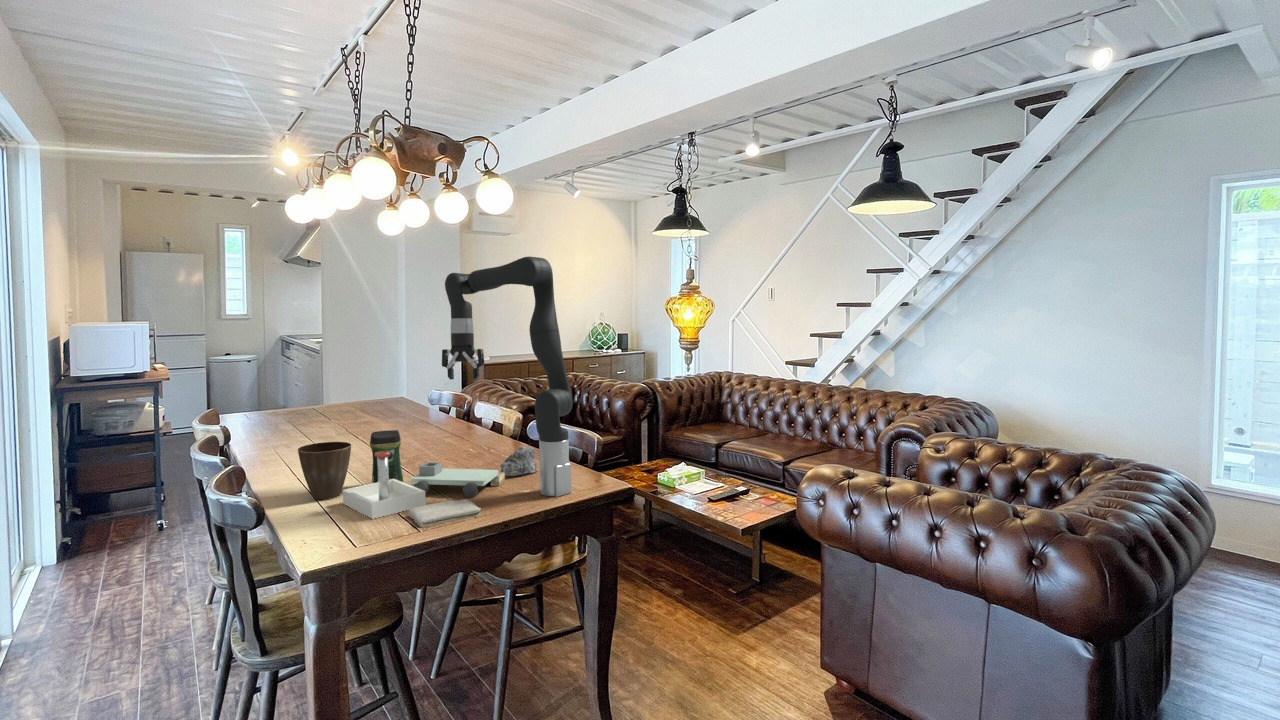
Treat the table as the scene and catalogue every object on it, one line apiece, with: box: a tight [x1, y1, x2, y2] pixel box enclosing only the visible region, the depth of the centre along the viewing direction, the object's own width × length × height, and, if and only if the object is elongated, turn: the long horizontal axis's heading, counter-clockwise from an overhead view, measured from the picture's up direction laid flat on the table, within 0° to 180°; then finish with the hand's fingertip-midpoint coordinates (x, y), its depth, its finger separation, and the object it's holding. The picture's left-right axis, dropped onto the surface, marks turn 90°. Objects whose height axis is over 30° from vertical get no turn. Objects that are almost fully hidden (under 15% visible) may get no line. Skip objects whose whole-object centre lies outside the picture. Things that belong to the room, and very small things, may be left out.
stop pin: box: [374, 451, 391, 501], centre depth 183 cm, size 4×4×15 cm
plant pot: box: [297, 441, 352, 500], centre depth 192 cm, size 15×15×16 cm
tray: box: [342, 479, 427, 520], centre depth 184 cm, size 20×16×4 cm
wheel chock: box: [490, 471, 506, 487], centre depth 205 cm, size 3×5×3 cm, turn 173°
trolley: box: [410, 461, 499, 499], centre depth 199 cm, size 24×16×8 cm, turn 83°
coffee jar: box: [369, 429, 404, 484], centre depth 203 cm, size 10×8×19 cm
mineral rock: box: [500, 445, 537, 477], centre depth 217 cm, size 13×11×10 cm
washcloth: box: [407, 498, 482, 528], centre depth 174 cm, size 12×18×3 cm, turn 126°
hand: (463, 379), depth 210 cm, fingers open, 8 cm apart
